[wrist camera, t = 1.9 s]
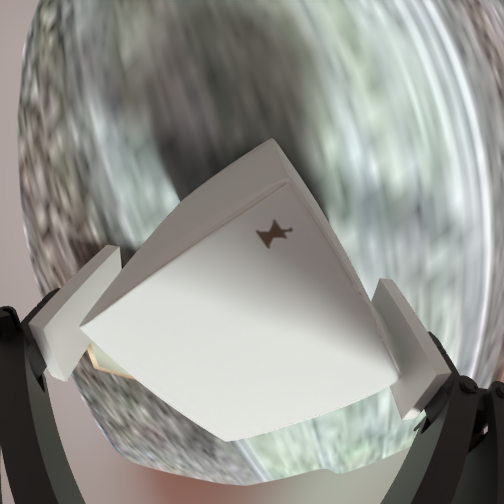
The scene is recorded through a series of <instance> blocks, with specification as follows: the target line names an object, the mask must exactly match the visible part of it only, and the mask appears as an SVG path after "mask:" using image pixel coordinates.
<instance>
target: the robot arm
mask: <svg viewBox="0 0 504 504" xmlns="http://www.w3.org/2000/svg"><path fill="white" fill-rule="evenodd" d="M121 270H122V267H121V257H120V246H113V245H106V246H105V247H104V248H103V249H102V250H100V251H99V252H98V253H97V254H96V255H95V256H94V257H93V258H92V259H91V260H90V261H89V262H88V263H86V264H85V265H84V266H83V267H82V268H81V269H80V270H79V271H78V272H77V273H76V274H75V275H74V276H73V277H72V278H71V279H70V280H69V281H68V282H67V283H66V284H65V285H64V286H63V287H62V288H61V289H60V288H57V289H55V290H53V291H52V292H50V293H48V294H47V295H46V296H45V297H44V298H43V299H42V301H41V302H40V303H39V304H38V305H37V307H35V308H34V309H33V310H32V311H31V312H30V313H29V314H28V316H26V317H25V318H24V320H23V321H22V322H21V323H20V321H19V318H18V315H17V312H16V310H15V309H14V308H13V307H10V306H3V307H0V450H1V449H2V454H3V459H4V464H5V469H6V473H7V477H8V481H9V485H10V488H11V492H12V495H13V498H14V502H15V504H85V501H84V499H83V497H82V495H81V493H80V491H79V488H78V486H77V484H76V481H75V479H74V476H73V474H72V471H71V469H70V466H69V463H68V461H67V458H66V455H65V452H64V449H63V446H62V443H61V440H60V436H59V433H58V430H57V426H56V422H55V419H54V415H53V411H52V407H51V403H50V398H49V393H48V388H47V383H46V378H45V376H44V373H43V371H44V370H45V368H46V367H47V368H48V370H49V372H50V374H51V376H52V377H55V378H57V379H60V380H62V381H65V382H66V381H67V380H68V378H69V376H70V375H71V373H72V371H73V370H74V368H75V366H76V365H77V363H78V362H79V360H80V358H81V357H82V355H83V354H84V352H85V350H86V349H87V347H88V346H89V344H90V343H91V341H92V340H91V339H90V338H89V337H88V336H87V335H86V334H85V333H84V332H83V331H82V330H81V329H80V328H79V327H80V324H81V322H82V321H83V319H84V318H85V317H86V315H87V314H88V312H89V311H90V310H91V308H92V307H93V306H94V304H95V303H96V302H97V301H98V299H99V298H100V297H101V295H102V294H103V293H104V292H105V290H106V289H107V288H108V286H109V285H110V284H111V283H112V281H113V280H114V279H115V278H116V276H117V275H118V274H119V273H120V271H121ZM371 303H372V305H373V307H374V309H375V312H376V314H377V316H378V318H379V320H380V323H381V325H382V327H383V329H384V332H385V334H386V336H387V338H388V341H389V343H390V345H391V348H392V350H393V353H394V355H395V358H396V360H397V363H398V365H399V368H400V370H401V374H402V376H401V379H400V380H399V381H398V382H396V383H394V384H392V385H391V386H390V388H391V391H392V394H393V396H394V399H395V402H396V405H397V407H398V410H399V413H400V416H401V419H402V420H405V419H411V418H417V416H418V415H419V414H420V413H421V412H422V411H423V409H424V410H425V412H426V416H425V417H424V418H423V419H422V421H421V422H420V423H419V424H418V425H417V426H416V427H415V429H414V430H413V431H416V430H417V429H418V428H419V430H418V432H417V435H416V437H415V439H414V441H413V444H412V446H411V448H410V450H409V452H408V454H407V457H406V459H405V461H404V463H403V465H402V467H401V469H400V470H399V472H398V474H397V476H396V478H395V480H394V482H393V483H392V485H391V487H390V489H389V490H388V492H387V494H386V495H385V497H384V499H383V501H382V502H381V504H504V383H502V382H500V381H495V382H493V383H492V384H491V386H490V387H489V388H488V389H483V388H478V386H477V384H476V383H475V382H474V380H472V379H471V378H469V377H467V376H464V375H463V376H460V375H459V373H458V371H457V369H456V368H455V366H454V364H453V363H452V361H451V359H450V358H449V356H448V354H446V351H445V349H444V348H443V346H442V345H441V343H440V341H439V340H438V338H436V337H435V336H434V335H433V334H432V333H431V332H427V331H426V329H425V327H424V326H423V324H422V323H421V321H420V320H419V318H418V317H417V315H416V314H415V312H414V310H413V309H412V308H411V306H410V305H409V303H408V302H407V300H406V299H405V297H404V296H403V294H402V293H401V291H400V290H399V289H398V287H397V286H396V284H395V283H394V282H393V280H390V279H381V278H380V279H379V282H378V285H377V288H376V290H375V293H374V296H373V298H372V301H371ZM487 425H488V432H487V433H486V434H484V428H485V427H486V426H487ZM0 504H2V494H1V475H0Z"/></svg>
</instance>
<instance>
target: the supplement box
mask: <svg viewBox="0 0 504 504" xmlns="http://www.w3.org/2000/svg"><path fill="white" fill-rule="evenodd" d="M79 328H80V329H81V330H82V331H83V332H84V333H85V334H86V335H87V336H88V337H89V338H90V339H91V340H92V341H93V342H95V343H96V344H97V345H98V346H99V347H100V348H101V349H102V350H103V351H104V352H105V353H106V354H107V355H108V356H110V357H111V358H112V359H113V360H114V361H115V362H116V363H117V364H118V365H120V366H121V367H122V368H123V369H124V370H125V371H127V372H128V373H129V374H130V375H131V376H133V377H134V378H135V379H136V380H138V381H139V382H140V383H141V384H143V385H144V386H145V387H146V388H148V389H149V390H150V391H152V392H153V393H154V394H155V395H157V396H158V397H159V398H161V399H162V400H163V401H165V402H166V403H167V404H169V405H170V406H172V407H173V408H174V409H176V410H177V411H179V412H180V413H182V414H183V415H184V416H186V417H187V418H189V419H190V420H192V421H193V422H195V423H196V424H198V425H200V426H201V427H203V428H204V429H206V430H207V431H209V432H211V433H212V434H214V435H215V436H217V437H219V438H220V439H222V440H223V441H225V442H228V441H233V440H239V439H244V438H249V437H253V436H256V435H260V434H264V433H267V432H270V431H273V430H277V429H280V428H283V427H287V426H290V425H293V424H296V423H299V422H302V421H305V420H308V419H311V418H314V417H317V416H320V415H323V414H326V413H328V412H331V411H334V410H336V409H339V408H342V407H345V406H347V405H350V404H352V403H354V402H357V401H359V400H361V399H364V398H366V397H368V396H371V395H373V394H375V393H377V392H379V391H381V390H383V389H385V388H387V387H389V386H391V385H392V384H394V383H396V382H398V381H399V380H400V379H401V376H402V374H401V370H400V368H399V365H398V363H397V360H396V358H395V355H394V353H393V350H392V348H391V345H390V343H389V341H388V338H387V336H386V334H385V332H384V329H383V327H382V325H381V323H380V320H379V318H378V316H377V314H376V312H375V309H374V307H373V305H372V303H371V301H370V299H369V297H368V295H367V293H366V291H365V289H364V287H363V285H362V283H361V281H360V279H359V277H358V275H357V273H356V271H355V269H354V267H353V266H352V264H351V262H350V260H349V258H348V256H347V254H346V252H345V251H344V249H343V247H342V245H341V243H340V241H339V240H338V238H337V236H336V234H335V233H334V231H333V229H332V227H331V226H330V224H329V222H328V220H327V219H326V217H325V215H324V214H323V212H322V210H321V209H320V207H319V205H318V204H317V202H316V200H315V199H314V197H313V196H312V194H311V192H310V191H309V189H308V188H307V186H306V185H305V183H304V182H303V180H302V179H301V177H300V176H299V174H298V173H297V171H296V170H295V168H294V167H293V165H292V164H291V162H290V161H289V160H288V158H287V157H286V155H285V154H284V152H283V151H282V149H281V148H280V146H279V145H278V144H277V142H276V141H275V140H274V139H273V138H270V139H268V140H267V141H265V142H263V143H262V144H260V145H259V146H257V147H256V148H254V149H253V150H251V151H250V152H248V153H246V154H245V155H243V156H242V157H240V158H239V159H237V160H236V161H234V162H233V163H231V164H230V165H229V166H227V167H226V168H224V169H223V170H221V171H220V172H219V173H217V174H216V175H214V176H213V177H211V178H210V179H209V180H207V181H206V182H205V183H203V184H202V185H200V186H199V187H198V188H197V189H195V190H194V191H193V192H192V193H190V194H189V195H188V196H187V197H185V198H184V199H183V200H182V201H181V202H180V203H179V204H178V205H177V207H176V208H175V209H174V210H173V211H172V212H171V213H170V214H169V215H168V216H167V217H166V218H165V220H164V221H163V222H162V223H161V224H160V225H159V226H158V227H157V229H156V230H155V231H154V232H153V233H152V234H151V236H150V237H149V238H148V239H147V240H146V241H145V243H144V244H143V245H142V246H141V247H140V248H139V250H138V251H137V252H136V253H135V254H134V256H133V257H132V258H131V259H130V260H129V262H128V263H127V264H126V265H125V266H124V268H123V269H122V270H121V271H120V273H119V274H118V275H117V276H116V278H115V279H114V280H113V281H112V283H111V284H110V285H109V286H108V288H107V289H106V290H105V292H104V293H103V294H102V295H101V297H100V298H99V299H98V301H97V302H96V303H95V304H94V306H93V307H92V308H91V310H90V311H89V312H88V314H87V315H86V317H85V318H84V319H83V321H82V322H81V324H80V327H79Z"/></svg>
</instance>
